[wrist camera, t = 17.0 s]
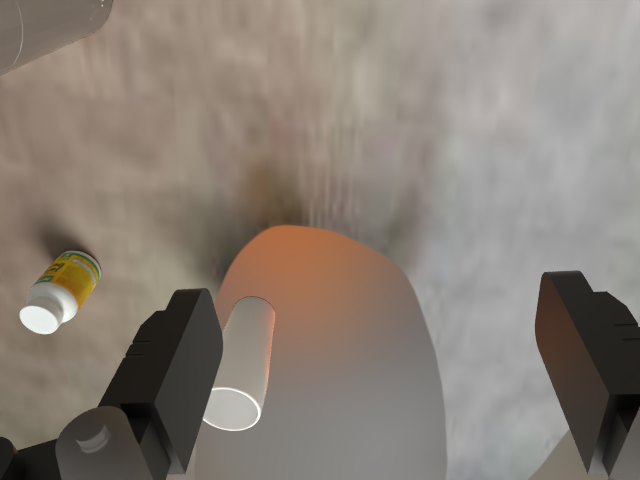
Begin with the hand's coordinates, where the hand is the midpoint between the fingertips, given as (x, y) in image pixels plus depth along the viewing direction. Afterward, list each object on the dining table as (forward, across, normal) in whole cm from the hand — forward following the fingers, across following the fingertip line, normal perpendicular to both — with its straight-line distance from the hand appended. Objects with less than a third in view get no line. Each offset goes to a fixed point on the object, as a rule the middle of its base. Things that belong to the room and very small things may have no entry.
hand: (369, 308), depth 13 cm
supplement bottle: (+38, +36, +24) cm, 58 cm away
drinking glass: (+38, +16, +32) cm, 52 cm away
